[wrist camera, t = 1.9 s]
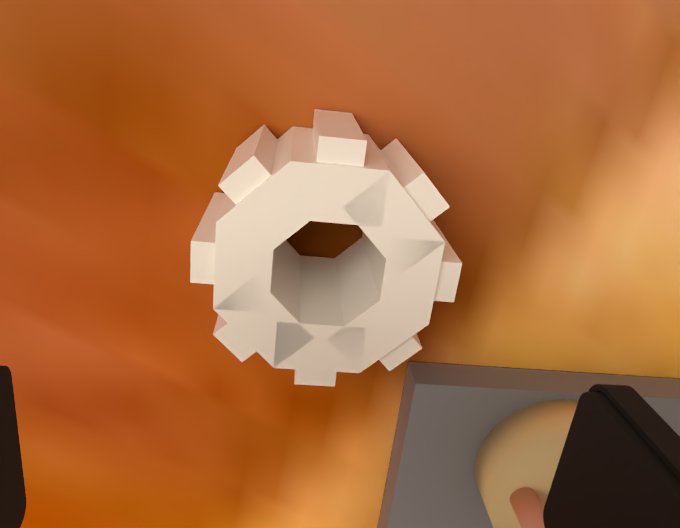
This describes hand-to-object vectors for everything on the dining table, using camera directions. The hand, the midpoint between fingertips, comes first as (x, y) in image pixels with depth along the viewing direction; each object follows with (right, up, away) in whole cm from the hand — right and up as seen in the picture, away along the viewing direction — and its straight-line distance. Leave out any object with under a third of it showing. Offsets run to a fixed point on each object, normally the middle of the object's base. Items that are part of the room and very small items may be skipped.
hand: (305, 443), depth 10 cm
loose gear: (0, +5, +10) cm, 11 cm away
